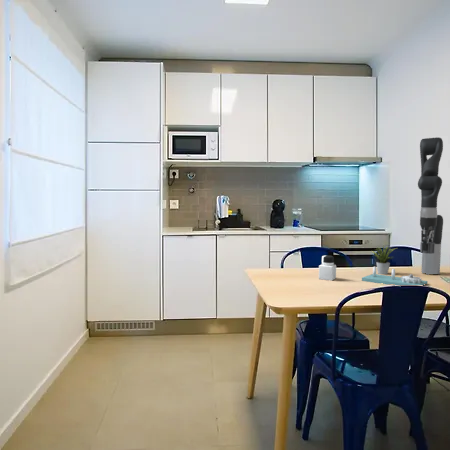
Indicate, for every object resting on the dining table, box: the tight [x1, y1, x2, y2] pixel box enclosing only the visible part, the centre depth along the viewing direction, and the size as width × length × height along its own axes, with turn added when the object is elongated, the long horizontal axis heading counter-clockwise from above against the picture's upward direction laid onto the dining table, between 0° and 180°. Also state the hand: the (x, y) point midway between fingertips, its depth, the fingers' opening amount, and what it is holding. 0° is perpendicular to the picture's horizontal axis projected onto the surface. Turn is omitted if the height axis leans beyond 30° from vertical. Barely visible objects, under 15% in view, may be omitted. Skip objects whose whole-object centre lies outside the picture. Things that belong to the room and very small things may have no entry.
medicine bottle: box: [318, 254, 337, 281], centre depth 210 cm, size 7×7×12 cm
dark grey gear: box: [419, 241, 435, 254], centre depth 203 cm, size 6×6×5 cm
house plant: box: [371, 245, 397, 275], centre depth 227 cm, size 14×14×16 cm
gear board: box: [361, 266, 429, 286], centre depth 203 cm, size 15×27×7 cm, turn 48°
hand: (427, 249), depth 203 cm, fingers closed on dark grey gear, 6 cm apart
